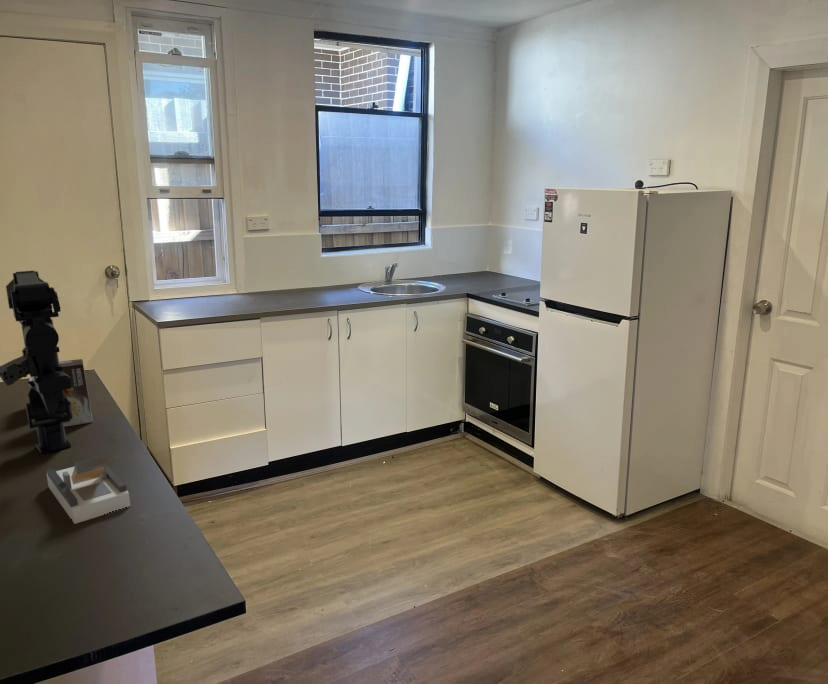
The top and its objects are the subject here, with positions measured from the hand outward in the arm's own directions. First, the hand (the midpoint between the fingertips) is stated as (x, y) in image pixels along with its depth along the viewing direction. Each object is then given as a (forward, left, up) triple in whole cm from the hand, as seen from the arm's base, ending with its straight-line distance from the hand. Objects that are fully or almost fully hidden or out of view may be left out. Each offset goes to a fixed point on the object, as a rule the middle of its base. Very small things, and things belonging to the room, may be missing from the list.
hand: (51, 413), depth 142 cm
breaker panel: (+18, +1, -13) cm, 22 cm away
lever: (+18, +1, -9) cm, 20 cm away
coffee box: (-30, +10, -13) cm, 34 cm away
